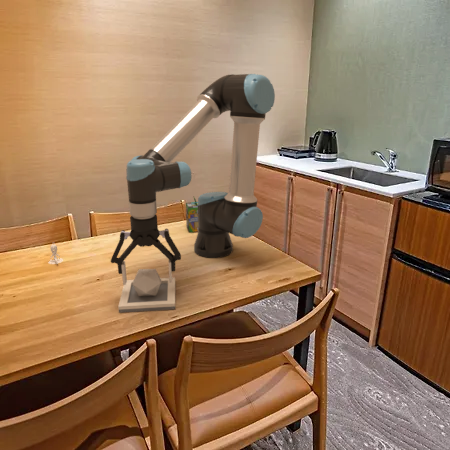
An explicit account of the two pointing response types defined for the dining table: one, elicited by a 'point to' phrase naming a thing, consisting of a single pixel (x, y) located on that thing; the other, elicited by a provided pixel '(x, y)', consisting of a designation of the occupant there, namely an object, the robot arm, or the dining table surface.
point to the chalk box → (192, 216)
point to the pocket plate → (148, 298)
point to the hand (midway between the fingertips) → (148, 281)
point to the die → (147, 282)
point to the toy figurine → (55, 261)
